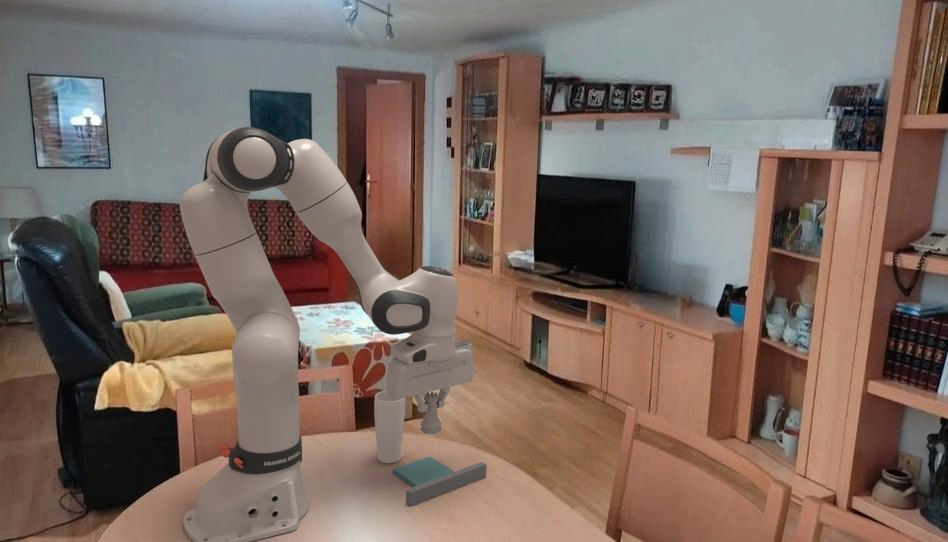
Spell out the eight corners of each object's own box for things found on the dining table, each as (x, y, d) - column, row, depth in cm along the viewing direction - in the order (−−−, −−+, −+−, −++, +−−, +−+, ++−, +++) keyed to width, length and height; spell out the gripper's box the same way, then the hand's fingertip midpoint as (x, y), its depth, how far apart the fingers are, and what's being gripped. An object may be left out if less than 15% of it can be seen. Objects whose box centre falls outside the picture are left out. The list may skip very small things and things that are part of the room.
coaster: (420, 492, 142) (420, 487, 142) (392, 473, 149) (392, 468, 149) (458, 478, 148) (458, 473, 148) (429, 460, 156) (429, 456, 156)
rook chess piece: (437, 435, 142) (438, 398, 141) (417, 433, 143) (417, 396, 142) (444, 428, 147) (444, 391, 145) (424, 425, 148) (424, 389, 147)
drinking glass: (371, 453, 158) (372, 391, 155) (400, 450, 160) (402, 389, 157) (376, 467, 151) (377, 402, 148) (406, 464, 153) (408, 400, 150)
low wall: (410, 506, 136) (410, 492, 136) (405, 503, 137) (406, 489, 137) (485, 477, 149) (486, 464, 149) (481, 474, 150) (481, 461, 150)
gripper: (463, 334, 151) (460, 394, 153) (383, 348, 138) (381, 414, 140) (482, 341, 146) (478, 403, 149) (401, 357, 133) (399, 425, 136)
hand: (430, 409), depth 144 cm, fingers closed on rook chess piece, 3 cm apart
